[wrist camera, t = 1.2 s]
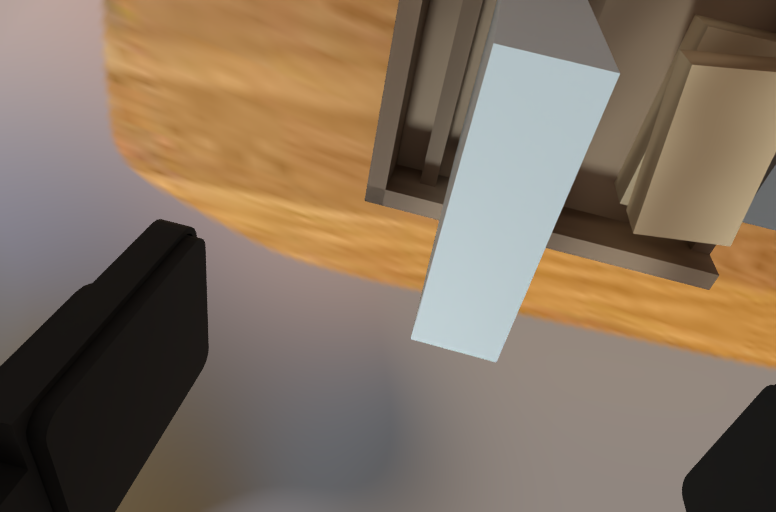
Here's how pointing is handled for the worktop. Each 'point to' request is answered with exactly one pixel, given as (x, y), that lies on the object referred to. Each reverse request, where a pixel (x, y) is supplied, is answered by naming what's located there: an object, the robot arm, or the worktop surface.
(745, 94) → the offcut top
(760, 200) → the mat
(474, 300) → the board
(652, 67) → the rack
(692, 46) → the offcut low
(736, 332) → the worktop surface
